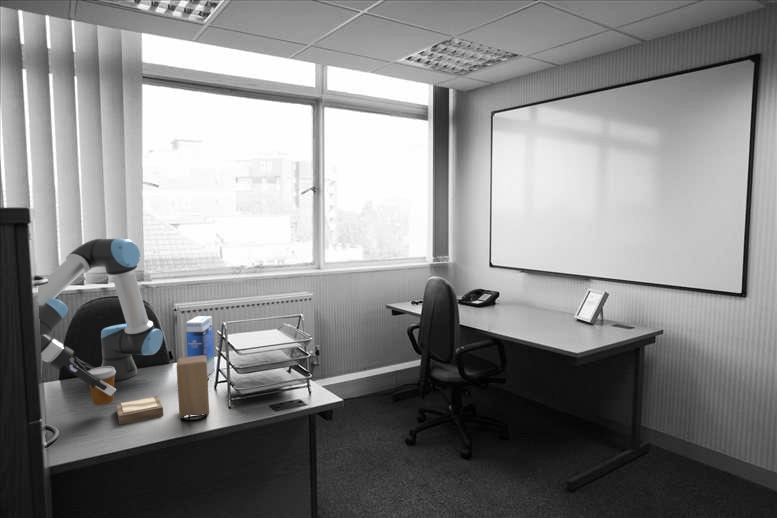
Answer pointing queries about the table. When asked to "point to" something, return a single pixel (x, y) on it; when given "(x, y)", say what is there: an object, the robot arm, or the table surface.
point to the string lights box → (201, 339)
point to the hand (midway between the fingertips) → (112, 388)
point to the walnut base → (139, 409)
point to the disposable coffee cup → (108, 377)
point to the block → (192, 385)
